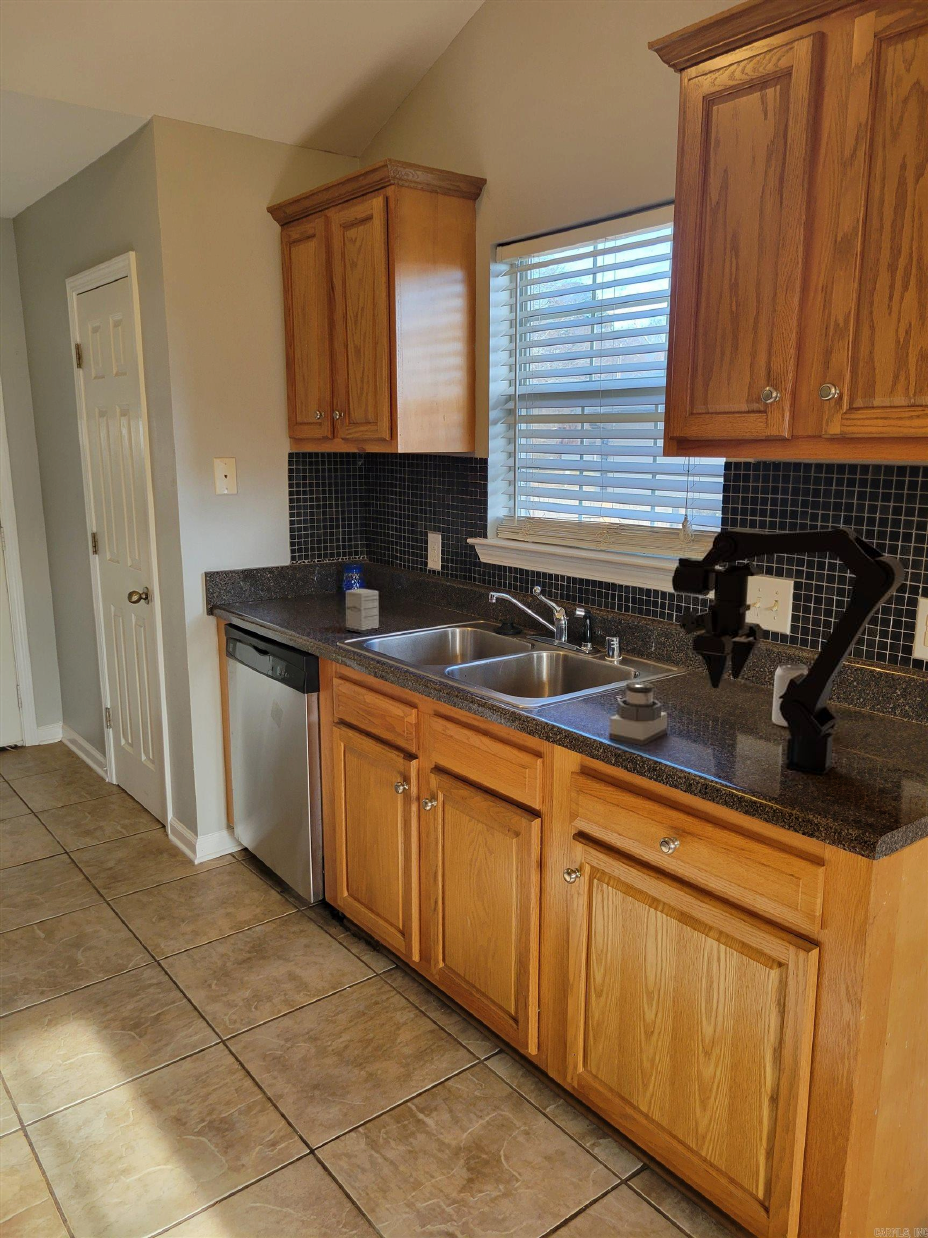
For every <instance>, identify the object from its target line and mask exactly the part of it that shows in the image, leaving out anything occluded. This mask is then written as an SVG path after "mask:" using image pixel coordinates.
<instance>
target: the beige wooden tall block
mask: <svg viewBox="0 0 928 1238" xmlns="http://www.w3.org/2000/svg"><path fill="white" fill-rule="evenodd" d="M379 611H380V610H379V591H378V590H374V589H368V588H356V589H349V590H348V589H347V590H346V591H345V628H346V627H349V628H354V629H359V630H366V629H371V628H378V627H380V626H379V625H380V623H379Z"/></svg>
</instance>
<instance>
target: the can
mask: <svg viewBox="0 0 928 1238" xmlns="http://www.w3.org/2000/svg"><path fill="white" fill-rule="evenodd" d="M808 672H809V671H808V666H807V665H805V664H801V663H798V662H797V663H795V662H782V663H778V664H777V669H776V670H775V673H774V685H773V696H772V697H773V700H772V716H771V717H772V719H771V721H772V722H773V723H774V725H776V726H779V727H782V726H783V727H784V728H788V725H787V722H786V721H785V720H784V719H783V717H782V715H781V712H780V710H779V707H780V703H781V701H782V700H783V699H779V697H780V696H781V695H783V693H784V692H785V691H786V688H787V685H788V683H789V681H790V679H791V678H793V677H795V676H797V675H799V674H801V673H803V674H804V675H806V674H807V673H808Z"/></svg>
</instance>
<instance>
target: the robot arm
mask: <svg viewBox="0 0 928 1238" xmlns="http://www.w3.org/2000/svg"><path fill="white" fill-rule="evenodd" d="M807 553H808V554H810V553H833V554H834V555H835V556H836V557H837V558H838V559H839V560H840V562H842V564H843V565H844V566H845V567H846V569H847V570H848V571H849V572H850V573H851V574H853V575H854V576H855V579H854V581H853V584H852V587H851V590H850V596H849V600H848V604H847V606H846V608H845V609H844V611H843V613H842V615H841V616H840V618H839V619H838V621H837V622H836V625H835V626H834V628H833V630H832V632H831V633H830V634H829V636H828V638H827V640H826V641H825V643H824V645H823V647H822V648H821V650H820V651H819V653H818V655H817V657H816V658H815V660H814V662H813V663H812V665H811V667H810V668H809V671H808V673H807V674H806V675H804V674H803V673H801V674H799V675H797V676H795V677H793V678H791V679H790V681H789V683H788V685H787V688H786V691H785V692H784V693H783V695H781V696H780V697H779V699H783V700H782V701H781V703H780V707H779V710H780V712H781V715H782V717H783V719H784V720H785V721H786V722H787V725H788V727H787V728H788V732H789V734H790V736H789V738H787V743H786V744H787V745H786V757H785V758H786V763H785V768H789V769H793V770H797V771H803V772H808V773H811V774H817V775H825V774H826V773H827V772H828V771H829V770H830V769H832V768H833V767H834V766H835V762H833V761H832V752H833V742H834V734H833V733H831V732H830V731H833V730H834V729H835V727H836V724H837V722H838V718H837V717H836V716H835V714H834V713H832V711H831V710H830V709H829V708H828V707H827V703H828V700H829V697H830V694H831V689H832V684H833V680H834V679H835V677H836V676H837V674H838V672H839V671H840V669H841V668H842V666H843V664H844V662H845V661H846V659H847V657H848V655H849V654H850V653H851V651H852V650H853V648H854V646H855V644H856V643H857V641H858V639H859V637H860V636H861V634H862V633H863V632H864V629H865V627H866V626H867V625H868V623H869V621H870V620H871V617H872V616H873V615H874V613H876V611H878V609H879V608H880V607H881V606H882V605H883V604H884V603H885V602H886V601H887V600H888V599H890V597H891V596H892V595H893V594H894V592H896V590H897V589H898V588H899V587H900V586H901V585H902V583H903V582H904V581H905V580H904V579H905V577H906V571H905V569H904V566H903V564H902V562H901V561H900V560H898V559H897V558H895V557H892V556H888V555H885V554H884V553H882V551H880V550H879V549H878V548H877V547H876V546H874V545H872V544H871V543H869V542H868V541H866V540H864V539H863V538H862V537H860V536H859V535H858V534H857V533H856V532H855V531H854V530H853V529H851V528H849V527H838V528H834V529H819V530H818V529H816V530H801V531H800V530H798V531H783V532H782V531H781V532H771V531H770V532H768V531H762V530H759V529H758V530H756V529H751V528H750V529H749V528H740V527H739V528H734V529H727V530H721V531H719V532H718V533H717V534H716V536H715V537H714V538H713V541H712V547H711V548H710V549H709V551H708V552H707V553H706V554H705V556H704V557H703V558H702V559H698V558H692V557H686V556H682V557H679V558H678V564H677V565H676V567H675V569H674V572H673V575H672V577H671V586H672V589H673V591H674V593H676V594H678V595H679V594H681V595H689V596H697V597H700V596H701V597H707V596H708V595H710V593H711V592H714V594H713V603H709V605H708V606H707V611H705V612H701V613H695V612H694V611H693V610H691V611H687V612H683V613H682V614H681V618H680V619H679V621H680V623H679V625H678V626H679V628H680V629H682V630H683V631H684V633H685V636H688V635H692V634H694V633H696V632H700V631H704V632H701V633H698V634H696V635H695V636H694V637H692V639H691V642H690V643H691V647H690V648H691V650H692V651H694V653H695V654H696V655H699V657H701V658H702V659H703V660H704V662H705V666H706V669H707V673H708V677H709V680H710V684H711V688H712V689H719V687H720V686H721V683H722V681H723V678H724V676H725V673H726V671H727V668H728V665H729V663H730V666H731V667H730V668H731V677H732V679H736V680H737V679H740V677H741V675H742V673H743V671H744V669H745V667H746V665H747V664H748V662H749V660H750V659H751V657H752V655H753V654H754V651H755V650H756V648H757V646H758V645H759V644H760V640H762V639H763V638H764V637H763V633H764V628H763V627H762V626H761V625H760V623H756V622H749V621H748V622H746V621H747V612H749V611H751V605H752V604H751V603H750V604H748V592H749V591H748V590H749V589H748V588H749V587H748V586H749V577H755V576H756V577H757V576H759V575H761V573H762V572H761V570H760V569H759V568H757V567H756V566H755V564H754V562H753V561H748V562H745V563H744V565H742V564H741V565H740V564H731V563H734V562H739V561H743V560H748V559H751V558H756V557H760V556H765V555H784V554H785V555H787V554H807ZM725 564H728V565H726V567H725V568H717V567H716V566H721V565H725Z"/></svg>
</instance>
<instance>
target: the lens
mask: <svg viewBox="0 0 928 1238" xmlns="http://www.w3.org/2000/svg"><path fill="white" fill-rule="evenodd" d="M625 687H626V688H625V689H626V697H625V698H626V706H631V707H637V708H645V707H653V700H654V690H655V686H654V684H652V683H650V682H645V681H632V682H631V681H630V682H628V683H626V686H625Z"/></svg>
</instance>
